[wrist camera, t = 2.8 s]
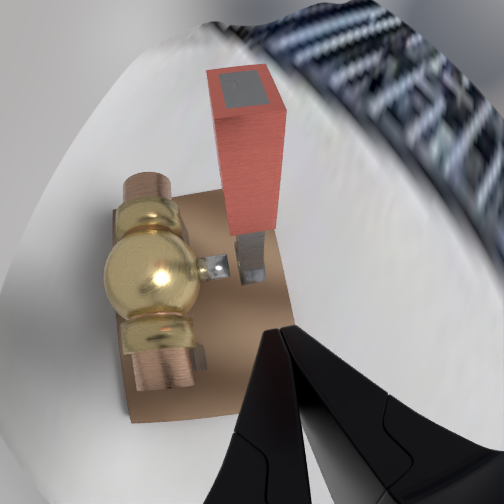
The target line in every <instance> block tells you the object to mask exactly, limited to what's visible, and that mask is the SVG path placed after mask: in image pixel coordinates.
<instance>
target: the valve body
mask: <svg viewBox="0 0 504 504" xmlns="http://www.w3.org/2000/svg"><path fill="white" fill-rule="evenodd" d="M116 240H117V242H118V243H117V244H116V245H115V246H114V247H113V249H112V250H111V252H110V254H109V255H108V258H107V260H106V263H105V267H104V287H105V292H106V295H107V297H108V300H109V301H110V303H111V305H112V306H113V308H114V309H115V310H116V312H117V313H118V314H119V315H120V316H122V317H123V318H124V319H126V320H127V321H126V322H123V323H122V324H121V325H120V327H121V337H122V346H123V354H124V355H132V360H133V367H134V374H135V381H136V387H137V391H150V390H162V389H171V388H179V387H186V386H192V385H195V383H194V377H193V371H200V370H207V363H206V357H205V351H204V345H201V344H199V343H197V342H196V338H195V331H194V324H193V318H191V317H188V316H185V315H186V314H187V313H188V312H189V310H190V309H191V308H192V306H193V305H194V303H195V301H196V299H197V297H198V294H199V290H200V284H201V282H207V281H213V280H219V279H225V278H231V275H230V269H229V263H228V258H227V253H226V254H221V255H215V256H209V257H203V258H196V256H195V254H194V253H193V251H192V250H191V248H190V244H189V235H188V231H187V229H186V227H185V224H184V222H183V220H182V217H181V215H180V208H179V206H178V205H177V204H176V203H175V202H174V201H172V195H171V183H170V180H169V179H168V178H167V177H166V176H164V175H162V174H160V173H155V172H142V173H138V174H135V175H133V176H131V177H129V178H128V179H127V180H126V181H125V182H124V185H123V204H121V205H120V206H119V207H118V209H117V211H116Z"/></svg>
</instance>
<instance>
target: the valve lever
mask: <svg viewBox="0 0 504 504" xmlns="http://www.w3.org/2000/svg"><path fill="white" fill-rule="evenodd" d="M206 72H207V80H208V88H209V96H210V104H211V112H212V119H213V127H214V134H215V142H216V149H217V156H218V163H219V171H220V178H221V185H222V191H223V197H224V203H225V209H226V215H227V221H228V227H229V233H230V236H235V235H236V242H234V246H235V253H236V259H237V265H238V271H239V276H240V281H241V286H244V285H250V284H256V283H261V282H266V271H265V263H264V241H265V231H266V230H272V229H276V219H277V209H278V199H279V189H280V179H281V168H282V157H283V146H284V135H285V124H286V112H287V110H286V108H285V105H284V103H283V101H282V99H281V96H280V94H279V92H278V90H277V87H276V85H275V83H274V81H273V78H272V76H271V74H270V72H269V70H268V68H267V65H266V64H257V65H246V66H237V67H228V68H220V69H213V70H206Z"/></svg>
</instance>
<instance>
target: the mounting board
mask: <svg viewBox="0 0 504 504" xmlns="http://www.w3.org/2000/svg"><path fill="white" fill-rule="evenodd" d="M172 201H174V202H175V203H176V204H177V205H178V206H179V208H180V215H181V217H182V220H183V222H184V224H185V227H186V229H187V231H188V235H189V244H190V248H191V250H192V251H193V253H194V254H195V256H196V258H203V257H209V256H215V255H221V254H226V253H227V258H228V263H229V269H230V275H231V278H225V279H219V280H213V281H207V282H201V284H200V290H199V294H198V297H197V299H196V301H195V303H194V305H193V306H192V308H191V309H190V310H189V312H188V313H187V314H186V315H185V316H188V317H191V318H193V324H194V331H195V338H196V342H197V343H199V344H201V345H204V351H205V357H206V363H207V370H200V371H193V377H194V383H195V385H192V386H186V387H179V388H171V389H162V390H150V391H137V387H136V381H135V374H134V367H133V360H132V355H124V354H123V346H122V337H121V327H120V325H121V324H122V323H123V322H126V321H127V320H126V319H124V318H123V317H122V316H120V315H119V314H118V313H117V312H116V319H117V330H118V340H119V349H120V357H121V365H122V372H123V379H124V385H125V392H126V398H127V404H128V409H129V415H130V420H131V423H152V422H168V421H180V420H190V419H200V418H208V417H216V416H224V415H231V414H238V413H239V412H240V409H241V406H242V402H243V399H244V396H245V392H246V389H247V385H248V382H249V379H250V375H251V372H252V368H253V365H254V361H255V358H256V354H257V351H258V347H259V344H260V340H261V337H262V333H263V331H265V330H269V329H274V328H278V329H279V330H280V328H281V327H285V326H290V325H295V322H294V317H293V313H292V308H291V303H290V298H289V294H288V289H287V285H286V280H285V275H284V271H283V266H282V262H281V257H280V253H279V248H278V244H277V240H276V235H275V231H274V229H272V230H266V231H265V241H264V263H265V271H266V282H261V283H256V284H250V285H244V286H241V281H240V276H239V271H238V265H237V259H236V253H235V246H234V242H236V235H235V236H230V233H229V227H228V221H227V215H226V209H225V203H224V197H223V191H222V189H219V190H213V191H207V192H201V193H196V194H190V195H185V196H179V197H174V198H172ZM116 211H117V209H115V210H113V247H114V246H115V245H116V244H117V243H118V242H117V240H116Z"/></svg>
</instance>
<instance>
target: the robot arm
mask: <svg viewBox="0 0 504 504" xmlns="http://www.w3.org/2000/svg"><path fill="white" fill-rule="evenodd" d="M301 424H302V425H301ZM302 426H303V429H304V431H305V434H306V436H307V438H308V441H309V443H310V446H311V448H312V451H313V453H314V456H315V458H316V460H317V463H318V465H319V468H320V470H321V473H322V475H323V477H324V480H325V482H326V485H327V487H328V489H329V492H330V494H331V497H332V499H333V501H334V504H504V451H497V450H492V449H489V448H485V447H483V446H480V445H478V444H476V443H474V442H472V441H470V440H467V439H465V438H463V437H461V436H459V435H457V434H455V433H454V432H452V431H450V430H448V429H446V428H444V427H442V426H440V425H438V424H436V423H434V422H432V421H431V420H429V419H427V418H425V417H424V416H422V415H420V414H418V413H417V412H415V411H414V410H412V409H411V408H409V407H408V406H406V405H405V404H403V403H402V402H400V401H399V400H397V399H396V398H395V397H393V396H392V395H388V393H387V392H386V391H385V390H383V389H382V388H380V387H379V386H378V385H376V384H375V383H374V382H372V381H371V380H369V379H368V378H367V377H365V376H364V375H363V374H361V373H360V372H358V371H357V370H356V369H354V368H353V367H352V366H350V365H349V364H348V363H346V362H345V361H343V360H342V359H341V358H339V357H338V356H337V355H335V354H334V353H333V352H331V351H330V350H329V349H327V348H326V347H325V346H323V345H322V344H321V343H319V342H318V341H317V340H315V339H314V338H313V337H311V336H310V335H309V334H307V333H306V332H305V331H303V330H302V329H301V328H299V327H298V326H297V325H290V326H285V327H281V328H280V330H279V329H278V328H274V329H269V330H265V331H263V333H262V337H261V340H260V344H259V347H258V351H257V354H256V358H255V361H254V365H253V368H252V372H251V375H250V379H249V382H248V385H247V389H246V392H245V396H244V399H243V402H242V406H241V409H240V412H239V416H238V419H237V422H236V426H235V429H234V432H235V433H233V435H232V438H231V441H230V444H229V447H228V450H227V453H226V456H225V458H224V461H223V464H222V466H221V469H220V471H219V473H218V475H217V477H216V479H215V482H214V484H213V486H212V488H211V490H210V492H209V493H208V495H207V497H206V499H205V501H204V503H203V504H312V501H311V493H310V485H309V477H308V470H307V462H306V454H305V447H304V440H303V432H302Z"/></svg>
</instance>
